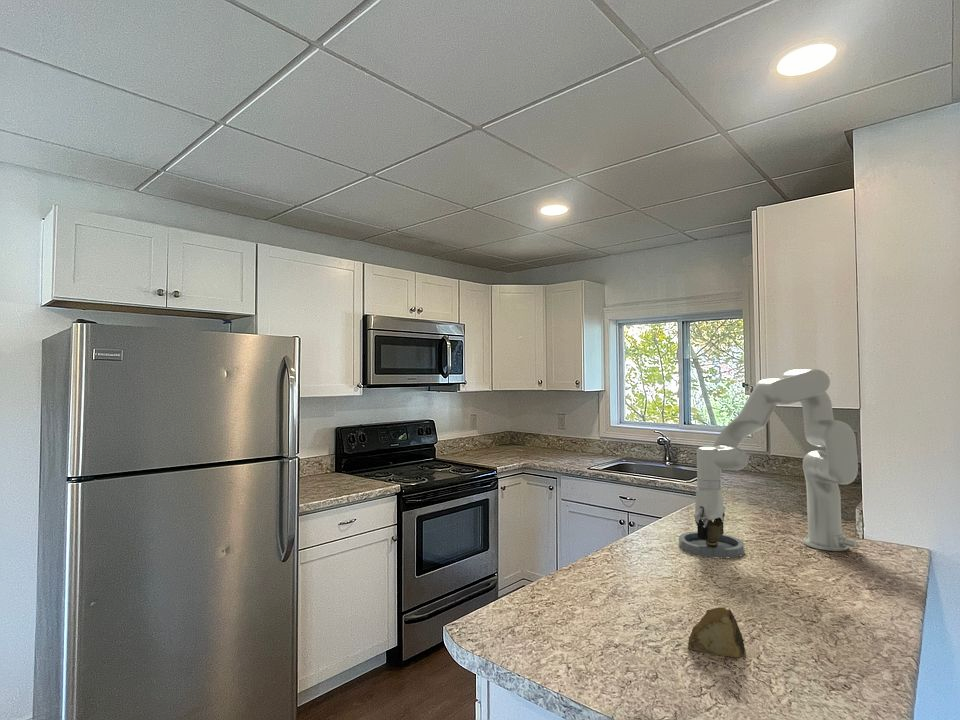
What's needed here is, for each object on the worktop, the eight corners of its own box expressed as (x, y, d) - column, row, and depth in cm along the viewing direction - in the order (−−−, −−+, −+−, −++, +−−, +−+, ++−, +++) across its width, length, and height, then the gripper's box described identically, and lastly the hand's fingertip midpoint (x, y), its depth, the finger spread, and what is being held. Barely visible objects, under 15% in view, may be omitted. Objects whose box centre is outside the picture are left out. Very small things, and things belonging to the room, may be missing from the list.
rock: (676, 641, 108) (724, 652, 101) (682, 599, 113) (729, 607, 106) (699, 659, 113) (747, 671, 106) (704, 618, 118) (751, 627, 111)
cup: (726, 550, 170) (726, 525, 170) (702, 548, 172) (702, 524, 172) (720, 542, 177) (720, 519, 178) (697, 541, 179) (697, 518, 179)
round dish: (756, 549, 172) (756, 541, 172) (724, 562, 160) (724, 554, 160) (699, 535, 188) (699, 528, 188) (666, 546, 176) (666, 538, 176)
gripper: (712, 479, 183) (714, 528, 182) (684, 485, 173) (685, 538, 172) (733, 482, 177) (735, 533, 176) (705, 489, 167) (707, 543, 166)
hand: (710, 535), depth 174 cm, fingers open, 9 cm apart
